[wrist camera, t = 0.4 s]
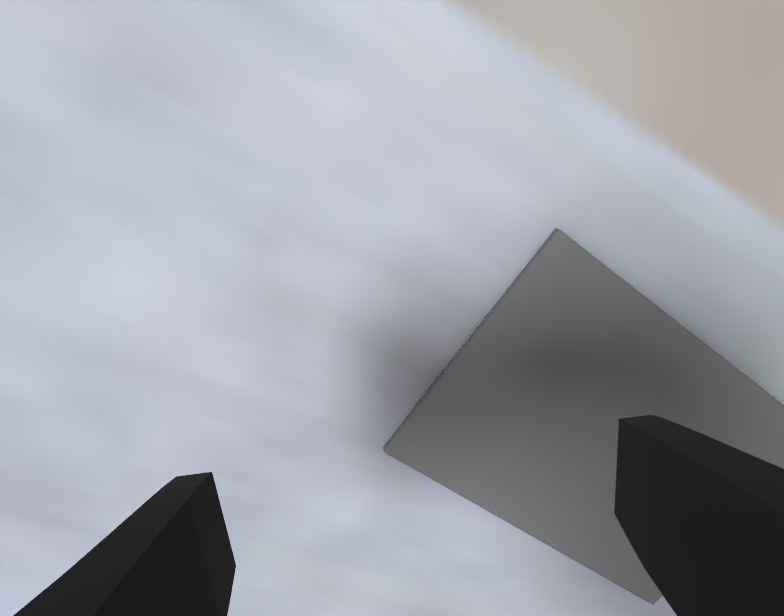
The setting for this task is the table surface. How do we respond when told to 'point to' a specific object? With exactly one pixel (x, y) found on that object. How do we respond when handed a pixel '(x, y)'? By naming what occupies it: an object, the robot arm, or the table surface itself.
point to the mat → (574, 406)
